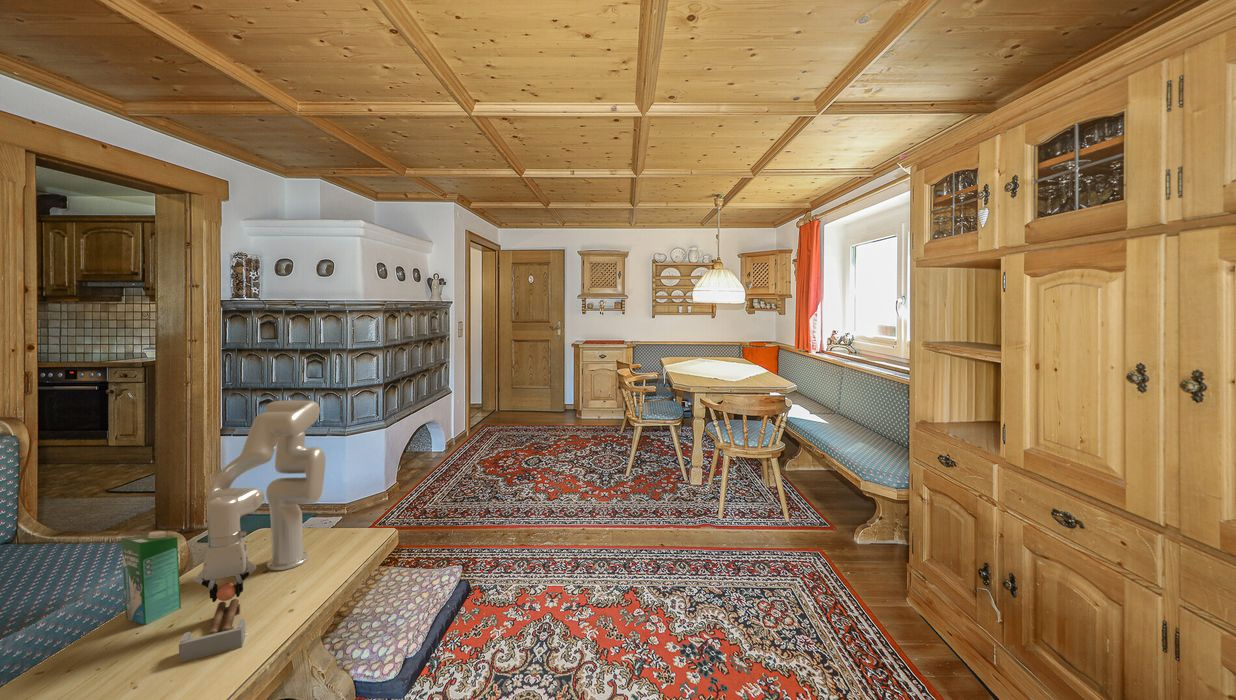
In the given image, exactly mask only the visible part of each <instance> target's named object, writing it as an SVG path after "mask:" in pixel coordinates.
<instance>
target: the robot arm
mask: <svg viewBox="0 0 1236 700" xmlns="http://www.w3.org/2000/svg"><path fill="white" fill-rule="evenodd" d="M264 410H265V411H264V412H262V413H259V414H258V415H257V416H255V418H254V419H253V422H252V424H251V427H250V430H249V432H248V435H247V438H246V440H245V442H244V445H243V448H242V451H241V452H240V454H239V455H238V456H237V457H236V458H235V459H233V460H232V461H230V462H229V463H228V464H227V465H226V466H225V467H224V468H222V469H221V471H220V472H218V474H217V475H216V476H215V478H214V480H213V483H212V485H211V488H210V489H209V492H208V495H207V498H206V521H207V544H206V546H205V549H204V554H203V563H202V565H203V566H202V569H201V571H200V572H199V573H198V574H197V575H196V577H195V578H194V580H193V581H194V583H196V584H201V585H202V586H203V587H205V588H207V590H209V599H211V601H212V603H215V602H216V601H217V600H218V599H217V597H216V592H217V590H218V588H219V586H218V584H217V583H216V582H217V580H218V579H223V578H229V577H234V578H235V579H236V583H235V585H236V595H235V597H236V598H240V596H241V593H243V592H244V581H245V580H246V579H247V578H248V577H249V576H250V575H251V574H252V573H253V572H255V571H256V570H257V565H255V564H254V562H252V561H250V560H249V556H248V548H247V545H246V540H245V538H244V537H247V532H248V531H243V530H242V529H241V517H242V516H244V515H245V516H246V515H247V514H250V513H253V512H255V511H257V510H258V509H259V508H260V507H261V506H262V505H263V503H264V501H265V498H266V500H267V504H268V507H269V514H270V515H269V516H270V517H269V518H270V537H271V558H270V559H269V560H268V561H267V563H266V568H267V569H268V570H269V571H284V570H290V569H293V568H296V567H298V566H300V565H302V564H304V563H305V562H307V560H308V559H309V553H308V552H307V551H304V539H303V538H304V537H303V535H304V534H303V512H302V510H301V508H300V506H299V505H311V504H316V503H318V501H320V499H321V497H322V494H323V490H324V479H325V471H326V470H325V469H326V455H325V452H324V451H323V449H322V448H320V447H315V446H311V447H309V446H307V447H305V446H306V445H305V442H306V441H305V440H306V432H305V431H306V430H307V429H308V428H310V427H311V426H313V424H315V422H317V420H318V419H319V416H320V413H321V408H320V405H319V404H318V402H316V401H313V400H292V399H291V400H275V401H271V402H269V403H268V404H267V405H266V406H265V409H264ZM275 449H276V451H275ZM274 453H275V459H274V461H275V462H274V468H275V471H276V472H277V473H278V474H284V475H287V474H289V475H290V474H293V475H294V474H295V475H296V474H305V476H303V477H301V476H300V477H280V478H276V479H274V480H272V481H271V482H270V483H268V485H267V487H266V490H265V494H266V497H265V494H264V492H263V491H262V489H260V488H258V487H256V488H255V487H237V488H236V487H235V488H234V487H232V485H233V483H234V481H236V480H237V478H239V477H240V476H241V475H242V474H244V473H246V472H248V471H250V470H253V469H255V468H257V467H261V466H262V465H265V464H267V463H268V462H270V461H271V460H272V458H273V455H274ZM246 569H247V570H246Z"/></svg>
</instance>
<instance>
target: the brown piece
mask: <svg viewBox="0 0 1236 700" xmlns="http://www.w3.org/2000/svg"><path fill="white" fill-rule="evenodd" d="M239 601H240V600H239V599H238V598H232V599H230V603H229V606H227V601H220V602H219V603H218V604H217V606H216V610H215V612H214V616H213V618H212V622H211V625H210V628H209V631H208V633H207V635H211V634H215V633H219V632H223V631H228V630H232V629H235V626H233V622H234V620H235V616H236V615H240V613H241V603H239ZM223 618H224V622H223V626H222V628H221V629H219V628H220V625H221V622H222V619H223Z"/></svg>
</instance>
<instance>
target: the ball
mask: <svg viewBox="0 0 1236 700" xmlns="http://www.w3.org/2000/svg"><path fill="white" fill-rule="evenodd" d="M216 597H217V600H218V601H220V602H227V601H229V600H230V601H231V600H232V599H234V597H236V583H235V582H225V583H223V584H221V585H220V586H218V590H217V592H216Z"/></svg>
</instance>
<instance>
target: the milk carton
mask: <svg viewBox="0 0 1236 700" xmlns="http://www.w3.org/2000/svg"><path fill="white" fill-rule="evenodd" d="M178 543H179V542H178V537H177V536H172V535H169V534H167V531H161V530H159V531H157V530H156V531H155V530H154V531H151V532H149V533H148V534H140V535H134V536H125V537H121V551H122V554H121V555H122V570H123V571H122V573H123V588H124V589H123V591H124V605H125V606H124V607H125V619H127V620H128V621H131V622H135V623H137V624H139V625H140V624H141V625H142V626H147V625H148V624H150V623H153V622H154V621H156V620H158V619H161V618H163V617H164V616H167V615H168V614H169V615H170V614H171V613H173V612H175V610H176V611H177V609H178V610H180V609H181V608H182V607H181V590H180V589H181V587H180V566H179V565H180V564H179V546H178V545H179V544H178Z"/></svg>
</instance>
